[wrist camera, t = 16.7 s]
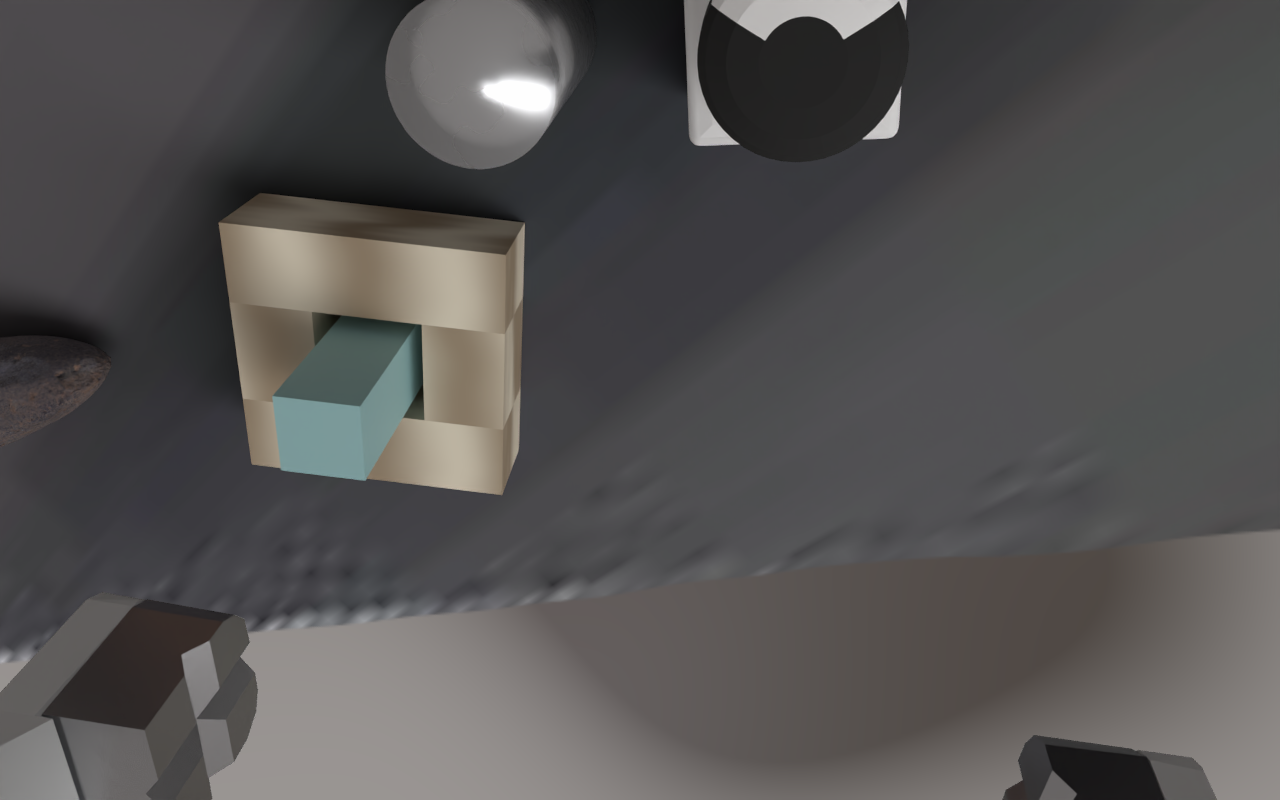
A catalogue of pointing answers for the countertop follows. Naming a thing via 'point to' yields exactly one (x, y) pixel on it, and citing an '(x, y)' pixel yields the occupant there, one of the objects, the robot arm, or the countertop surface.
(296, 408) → the square bit
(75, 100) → the countertop surface
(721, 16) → the medicine bottle
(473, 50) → the cylinder
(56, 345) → the perforated stone tool
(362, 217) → the bore block
